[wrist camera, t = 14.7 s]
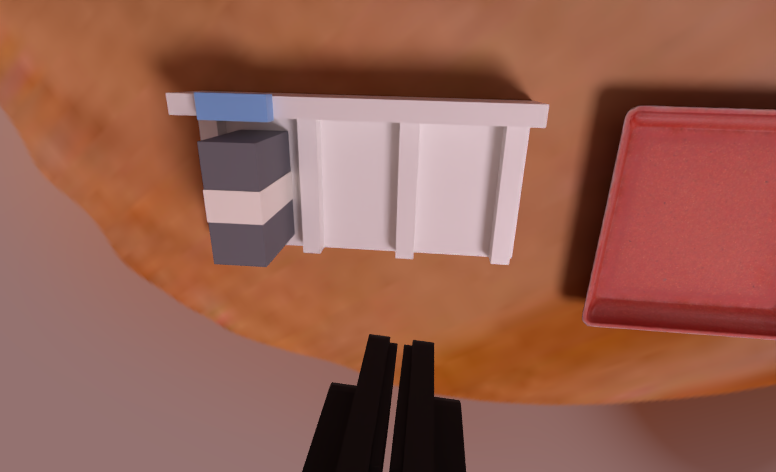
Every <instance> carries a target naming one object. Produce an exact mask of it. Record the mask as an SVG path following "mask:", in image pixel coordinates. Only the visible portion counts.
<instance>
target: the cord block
mask: <svg viewBox="0 0 776 472" xmlns="http://www.w3.org/2000/svg"><path fill="white" fill-rule="evenodd" d="M197 144H198V151H199V158H200V166H201V173H202V180H203V187H204V189H203V194H204V202H205V209H206V216H207V222H209V230H210V237H211V244H212V251H213V258H214V264H223V265H240V266H258V267H267V266H268V265H269V263H270V262H271V261H272V260H273V259H274V258H275V257H276V255H277V254H278V253H279V252H280V251H281V250H282V248H283V247H284V246H285V245H286V244H287V243H288V241H289V240H290V239H291V238H292V237H293V236H294V234H295V228H294V213H293V185H292V171H291V166H290V151H289V135H288V131H274V130H237V131H234V132H230V133H226V134H223V135H219V136H216V137H212V138H208V139H205V140H201V141H198V142H197Z"/></svg>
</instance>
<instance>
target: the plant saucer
mask: <svg viewBox="0 0 776 472" xmlns="http://www.w3.org/2000/svg"><path fill="white" fill-rule="evenodd" d="M582 320H583V322H584V323H585V324H586V325H588V326H593V327H607V328H620V329H636V330H648V331H662V332H675V333H687V334H700V335H715V336H727V337H742V338H756V339H767V340H776V109H744V108H740V109H735V108H706V107H674V106H650V105H645V106H636V107H634V108H632V109H630V110H629V111H628V112H627V114H626V116H625V120H624V124H623V128H622V134H621V138H620V142H619V147H618V152H617V157H616V161H615V166H614V171H613V175H612V180H611V185H610V190H609V194H608V199H607V204H606V208H605V213H604V217H603V222H602V227H601V231H600V235H599V240H598V245H597V249H596V254H595V259H594V263H593V268H592V272H591V277H590V282H589V286H588V291H587V295H586V300H585V304H584V309H583V314H582Z"/></svg>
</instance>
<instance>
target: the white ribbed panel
mask: <svg viewBox="0 0 776 472" xmlns="http://www.w3.org/2000/svg"><path fill="white" fill-rule="evenodd" d="M166 99H167V105H168V112H169V115H189V116H197V120H198V123H199V130H200V138H201V140H205V139H208V138H212V137H216V136H219V135H223V134H226V133H230V132H234V131H237V130H274V131H288V135H289V151H290V166H291V171H292V185H293V213H294V228H295V234H294V236H293V237H292V238H291V239H290V240H289V241H288V243H287V244H286V245H299V246H303V250H304V253H320V254H321V252H322V250H323V249H324V247H333V248H350V249H367V250H384V251H396V257H395V258H403V259H413V254H414V252H418V253H435V254H452V255H469V256H486V257H489V260H490V263H491V264H503V265H509V260H510V258H512V252H513V245H514V238H515V231H516V224H517V217H518V210H519V202H520V195H521V188H522V181H523V174H524V167H525V160H526V153H527V145H528V138H529V131H530V127H534V128H546V123H547V117H548V110H549V104H545V103H541V102H536V101H530V100H497V99H463V98H430V97H396V96H362V95H329V94H295V93H262V92H228V91H188V92H172V93H166Z"/></svg>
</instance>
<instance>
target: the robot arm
mask: <svg viewBox="0 0 776 472" xmlns="http://www.w3.org/2000/svg"><path fill="white" fill-rule="evenodd" d="M396 354H397V344H396V343H390V337H387V336H380V335H372V334H370V335H369V338H368V342H367V346H366V350H365V354H364V358H363V362H362V366H361V371H360V375H359V379H358V383H357V386H354V385H346V384H340V383H333V382H332V383H331V385H330V388H329V391H328V394H327V397H326V400H325V403H324V406H323V409H322V412H321V415H320V418H319V422H318V424H317V428H316V431H315V434H314V437H313V440H312V443H311V446H310V449H309V452H308V455H307V459H306V461H305V464H304V467H303V471H302V472H382V471H383V463H384V455H385V448H386V440H387V432H388V423H389V415H390V406H391V397H392V389H393V380H394V371H395V362H396ZM389 472H466V464H465V451H464V438H463V425H462V412H461V403H460V401H459V400H454V399H446V398H439V397H434V343H432V342H425V341H417V340H413V344H412V346H411V345H404V351H403V359H402V367H401V376H400V384H399V393H398V400H397V409H396V417H395V425H394V434H393V443H392V453H391V461H390V471H389Z"/></svg>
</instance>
